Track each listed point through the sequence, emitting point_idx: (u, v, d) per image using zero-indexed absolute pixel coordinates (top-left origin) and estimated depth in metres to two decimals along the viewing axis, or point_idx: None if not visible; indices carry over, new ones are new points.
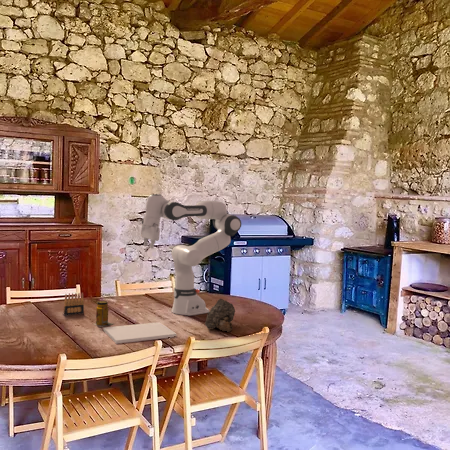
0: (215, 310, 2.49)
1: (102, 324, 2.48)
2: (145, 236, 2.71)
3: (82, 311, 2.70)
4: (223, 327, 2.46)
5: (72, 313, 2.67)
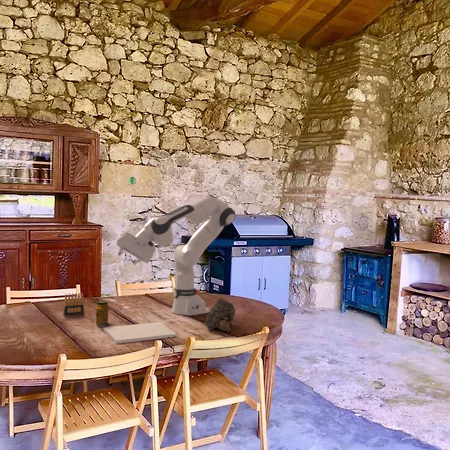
0: (215, 310, 2.49)
1: (102, 324, 2.48)
2: None
3: (82, 311, 2.70)
4: (223, 327, 2.46)
5: (72, 313, 2.67)
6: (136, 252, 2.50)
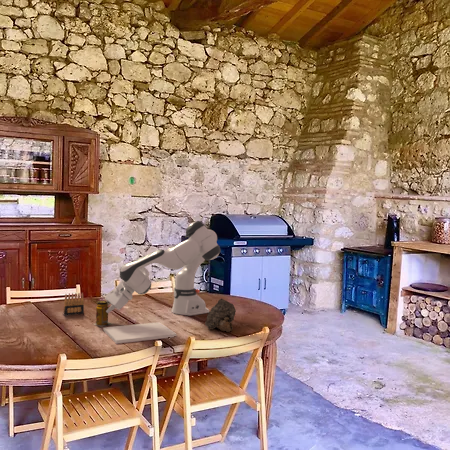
0: (215, 310, 2.49)
1: (102, 324, 2.48)
2: None
3: (82, 311, 2.70)
4: (223, 327, 2.46)
5: (72, 313, 2.67)
6: (111, 301, 2.50)
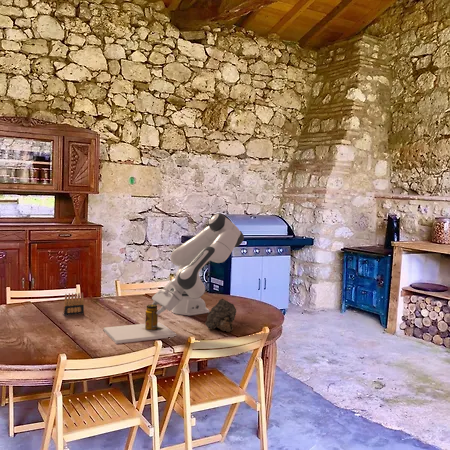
0: (216, 310, 2.49)
1: (152, 328, 2.39)
2: None
3: (82, 311, 2.70)
4: (223, 327, 2.46)
5: (72, 313, 2.67)
6: (160, 302, 2.40)
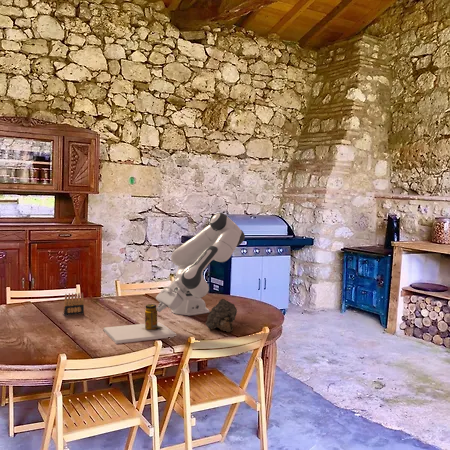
0: (216, 310, 2.49)
1: (152, 328, 2.39)
2: None
3: (82, 311, 2.70)
4: (223, 327, 2.46)
5: (72, 313, 2.67)
6: (164, 301, 2.41)
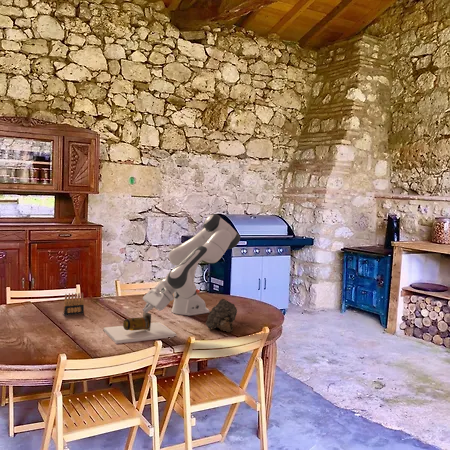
0: (216, 310, 2.49)
1: (147, 327, 2.37)
2: None
3: (82, 311, 2.70)
4: (223, 327, 2.46)
5: (72, 313, 2.67)
6: (151, 302, 2.38)
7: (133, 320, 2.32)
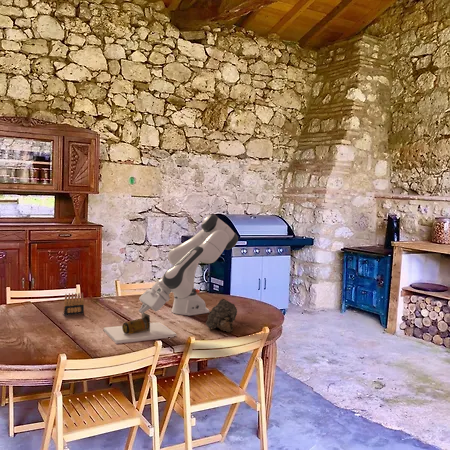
0: (216, 310, 2.49)
1: (147, 328, 2.36)
2: None
3: (82, 311, 2.70)
4: (224, 327, 2.46)
5: (72, 313, 2.67)
6: (147, 302, 2.37)
7: (132, 323, 2.31)
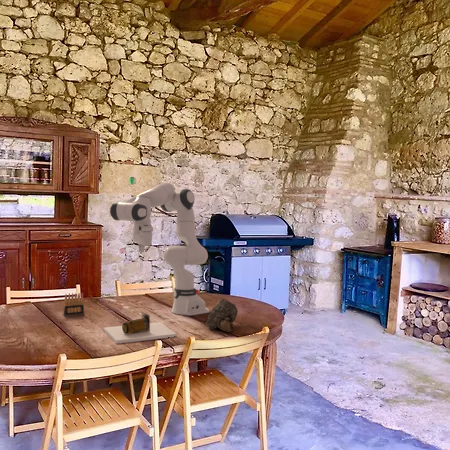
0: (216, 310, 2.49)
1: (147, 328, 2.36)
2: None
3: (82, 311, 2.70)
4: (224, 327, 2.46)
5: (72, 313, 2.67)
6: (140, 242, 2.57)
7: (131, 323, 2.31)
